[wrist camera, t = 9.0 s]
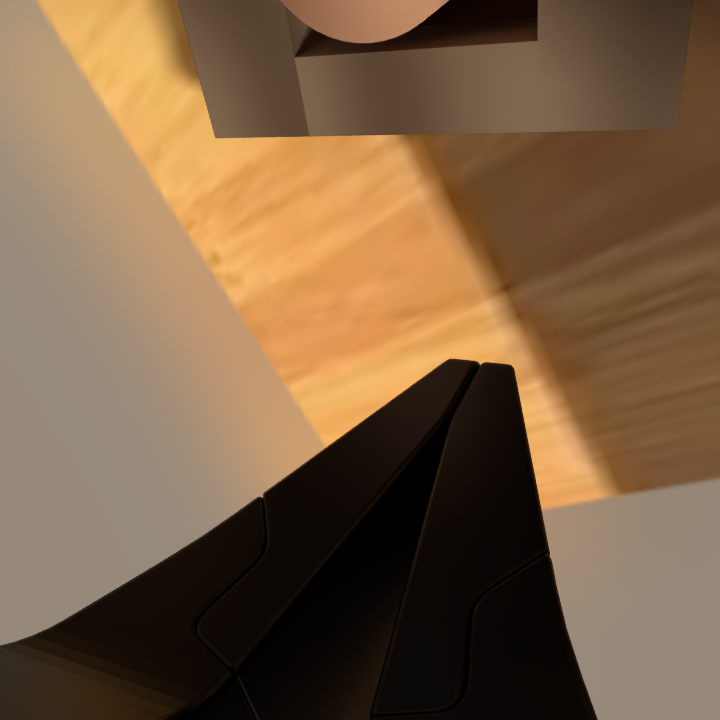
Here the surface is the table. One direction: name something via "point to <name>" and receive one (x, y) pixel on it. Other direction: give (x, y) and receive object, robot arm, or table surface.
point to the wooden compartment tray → (442, 71)
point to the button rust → (363, 17)
